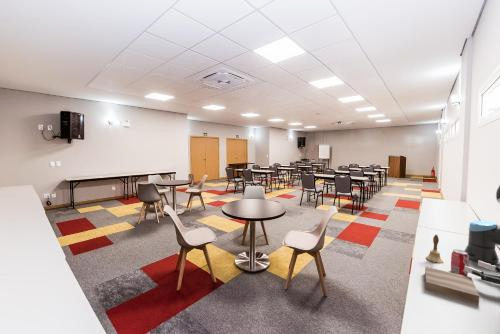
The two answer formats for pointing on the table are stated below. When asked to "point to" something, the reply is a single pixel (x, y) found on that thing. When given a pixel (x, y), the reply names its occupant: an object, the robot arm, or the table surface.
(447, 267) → the table surface
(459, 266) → the soda can
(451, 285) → the podium
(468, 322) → the table surface
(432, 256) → the hand bell
